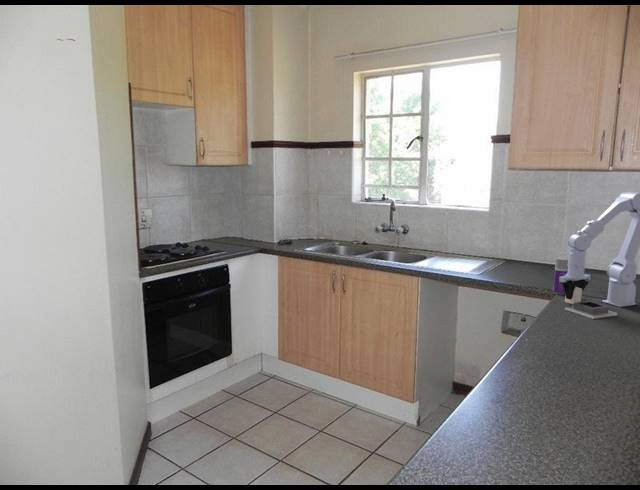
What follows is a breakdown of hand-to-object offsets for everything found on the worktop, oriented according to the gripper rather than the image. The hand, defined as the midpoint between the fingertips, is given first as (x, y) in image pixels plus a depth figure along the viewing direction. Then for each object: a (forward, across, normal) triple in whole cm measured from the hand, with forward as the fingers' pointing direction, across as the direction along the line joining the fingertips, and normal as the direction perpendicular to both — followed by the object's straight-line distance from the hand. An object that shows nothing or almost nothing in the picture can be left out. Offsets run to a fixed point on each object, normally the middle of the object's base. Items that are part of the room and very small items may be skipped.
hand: (573, 298), depth 187 cm
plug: (+2, 0, 0) cm, 2 cm away
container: (+2, -7, -13) cm, 15 cm away
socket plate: (+2, +5, +12) cm, 13 cm away
